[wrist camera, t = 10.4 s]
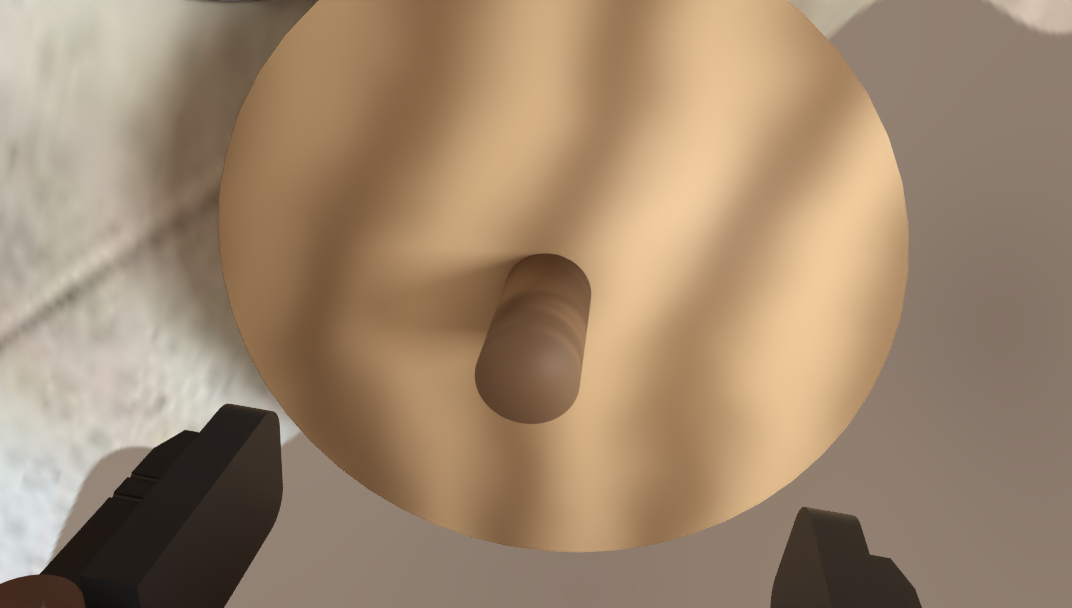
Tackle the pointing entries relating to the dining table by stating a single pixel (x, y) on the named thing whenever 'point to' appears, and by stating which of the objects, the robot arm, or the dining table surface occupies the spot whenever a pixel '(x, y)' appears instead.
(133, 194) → the dining table surface
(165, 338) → the dining table surface
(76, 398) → the dining table surface
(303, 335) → the lid
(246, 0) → the disc
